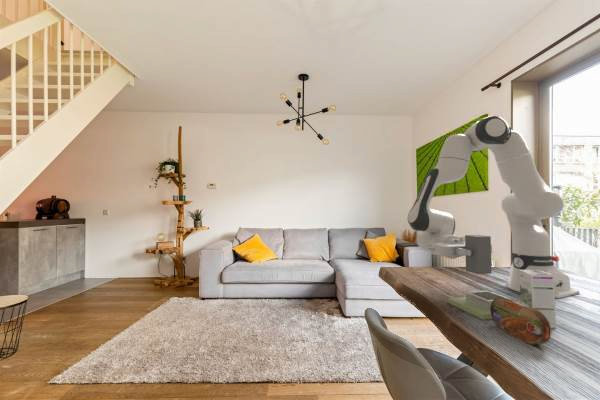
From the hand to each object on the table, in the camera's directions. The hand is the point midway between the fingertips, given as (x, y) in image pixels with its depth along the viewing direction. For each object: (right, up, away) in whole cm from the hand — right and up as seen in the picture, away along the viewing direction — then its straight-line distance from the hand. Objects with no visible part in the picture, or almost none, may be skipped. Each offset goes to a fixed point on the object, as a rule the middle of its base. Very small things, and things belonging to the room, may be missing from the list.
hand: (480, 252), depth 88 cm
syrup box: (+8, -18, -12) cm, 23 cm away
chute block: (0, -7, +1) cm, 7 cm away
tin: (-3, -18, -19) cm, 26 cm away
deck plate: (+1, -18, -1) cm, 18 cm away
